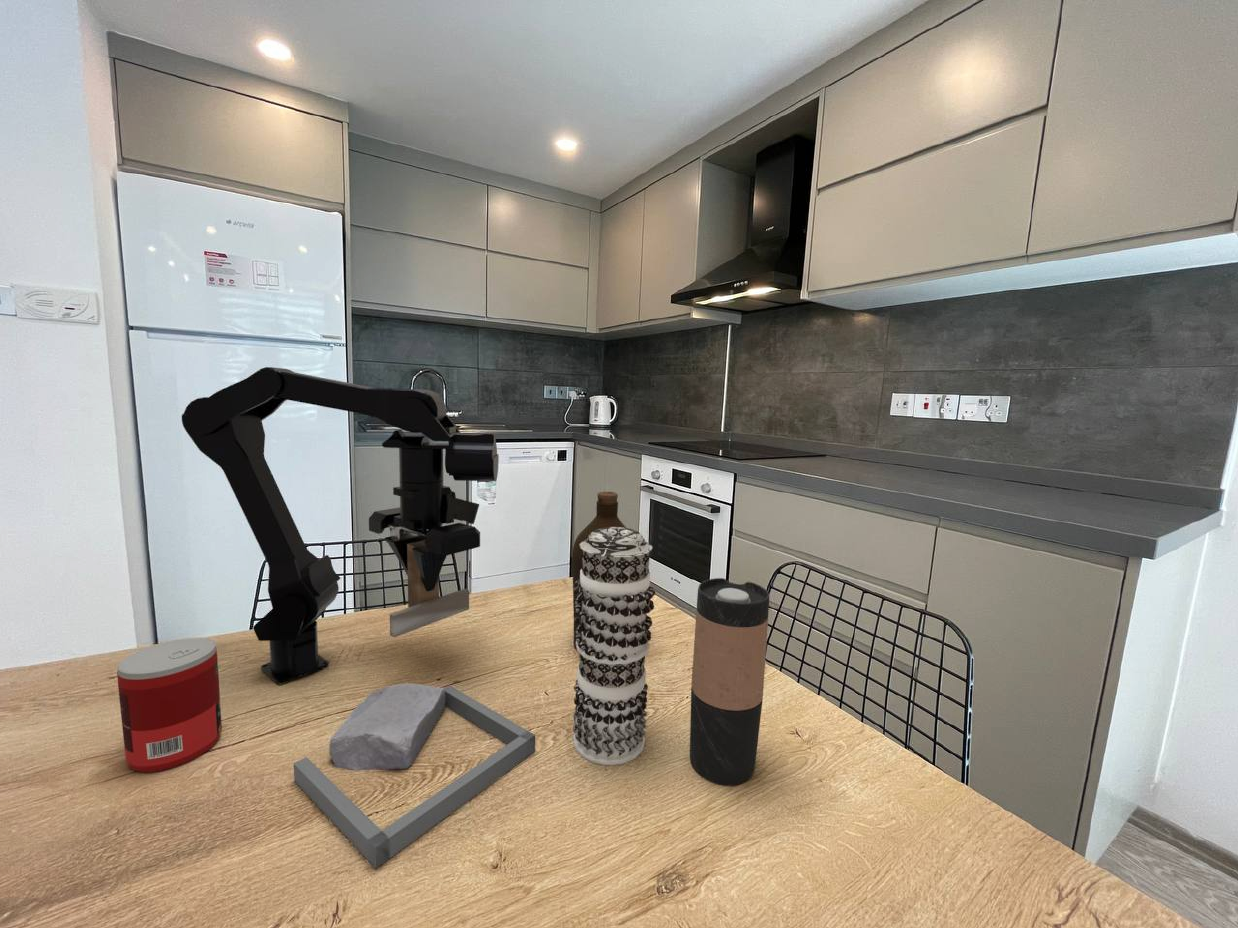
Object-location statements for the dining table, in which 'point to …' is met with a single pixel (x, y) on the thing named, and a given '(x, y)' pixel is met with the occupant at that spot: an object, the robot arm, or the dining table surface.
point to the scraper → (424, 601)
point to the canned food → (169, 703)
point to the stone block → (388, 728)
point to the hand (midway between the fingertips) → (423, 587)
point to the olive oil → (603, 519)
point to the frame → (433, 810)
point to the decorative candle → (612, 645)
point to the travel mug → (728, 679)
